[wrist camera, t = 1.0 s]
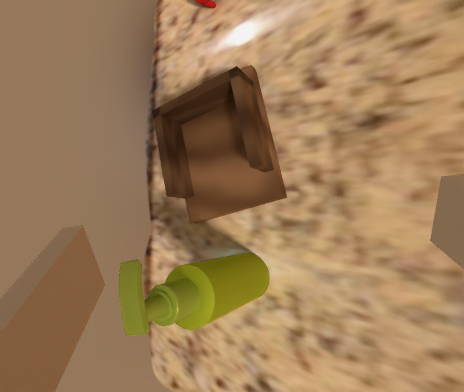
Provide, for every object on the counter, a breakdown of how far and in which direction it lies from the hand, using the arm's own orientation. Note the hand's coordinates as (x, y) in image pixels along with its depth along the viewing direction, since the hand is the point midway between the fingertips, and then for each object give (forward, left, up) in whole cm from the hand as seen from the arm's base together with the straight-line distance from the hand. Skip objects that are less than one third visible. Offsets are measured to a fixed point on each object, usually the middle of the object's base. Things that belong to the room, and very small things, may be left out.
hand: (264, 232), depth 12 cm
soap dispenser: (+3, -14, -26) cm, 30 cm away
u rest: (-14, -14, -26) cm, 33 cm away
